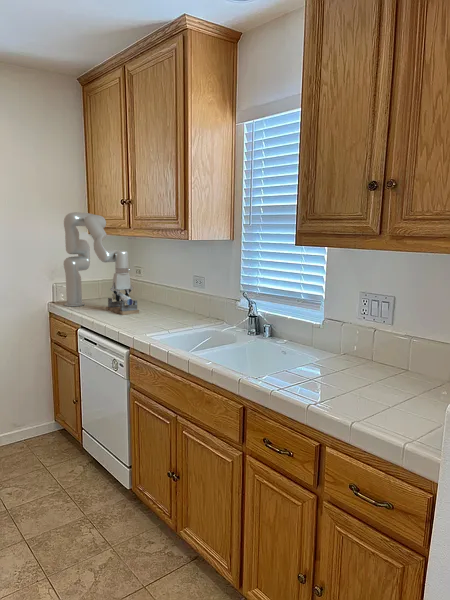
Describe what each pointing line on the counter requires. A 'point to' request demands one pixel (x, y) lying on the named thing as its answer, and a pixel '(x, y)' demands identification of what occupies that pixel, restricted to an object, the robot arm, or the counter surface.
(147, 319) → the counter surface
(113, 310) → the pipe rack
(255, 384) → the counter surface
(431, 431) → the counter surface
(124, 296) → the white elongated piece
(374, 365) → the counter surface
